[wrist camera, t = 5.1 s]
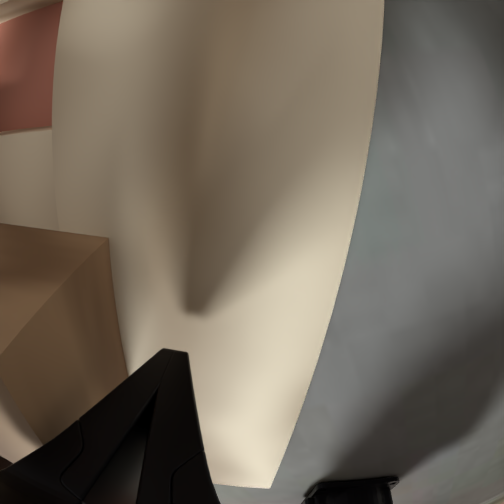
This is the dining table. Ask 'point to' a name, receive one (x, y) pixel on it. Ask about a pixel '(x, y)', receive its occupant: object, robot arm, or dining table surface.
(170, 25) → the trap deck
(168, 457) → the robot arm
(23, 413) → the walnut block
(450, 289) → the dining table surface
